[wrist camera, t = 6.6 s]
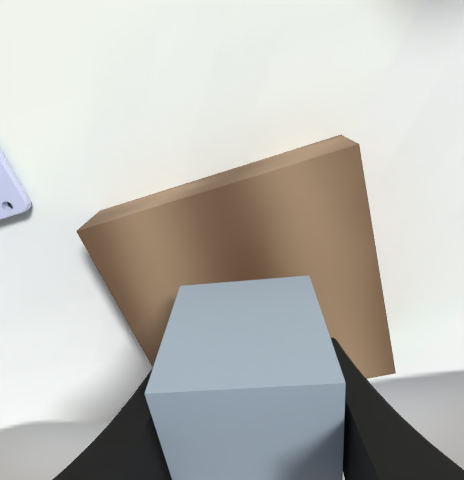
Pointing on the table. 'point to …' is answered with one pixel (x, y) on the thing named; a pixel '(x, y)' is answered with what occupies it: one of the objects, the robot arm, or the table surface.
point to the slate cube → (248, 384)
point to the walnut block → (253, 244)
